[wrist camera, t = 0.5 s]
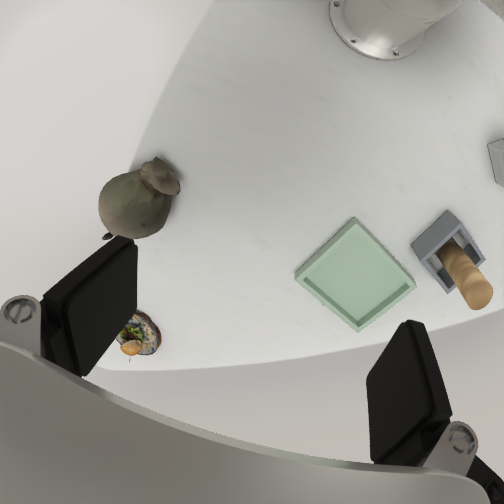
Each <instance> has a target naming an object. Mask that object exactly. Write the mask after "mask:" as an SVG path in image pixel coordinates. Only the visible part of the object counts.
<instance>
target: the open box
mask: <svg viewBox="0 0 504 504" xmlns="http://www.w3.org/2000/svg"><path fill="white" fill-rule="evenodd" d="M457 231H459V232H460V234H461V235H462V237H463V238H464V239H465V241H466V242H467V244H468V245H467V246H466V247H465V248H464V249H463V251H464V252H465V253H466V254H467V256H468V257H469V258H470V259H471V260H472V262H473V263H474V264H475V265H476V267H479V266H480V265H481V264H482V263H483V262H484V261H485V260H486V259H485V257H484V256H483V254H482V253H481V251H480V249H479V248H478V246H477V245H476V243H475V242H474V240H473V239H472V237H471V236H470V234H469V233H468V231H467V230H466V228H465V227H464V226H463V224H462V223H461V222H460V221H459V220H458V219H457V218H456V217H455V216H454V215H453V214H452V213H451V212H450V211H449V210H447V211H446V212H445V213H444V214H443V215H442V216H441V217H440V218H438V219H437V220H436V221H435V222H434V223H433V224H432V225H431V226H430V227H429V228H428V229H427V230H426V231H425V232H424V233H423V234H422V235H421V236H420V237H419V238H417V239H416V240H415V241H414V242H413V243H412V244H411V246H412V248H413V250H414V251H415V253H416V255H417V257H418V258H419V260H420V261H421V263H422V264H423V265H424V266H425V267H426V268H427V270H428V271H429V272H430V273H431V274H432V276H433V277H434V278H435V279H436V281H437V282H438V283H439V284H440V285H441V287H442V288H443V289H444V290H445V292H446V293H447V294H448V293H450V292H451V291H452V290H453V289H454V288H455V287H457V286H456V284H455V283H454V281H453V280H452V278H451V276H450V275H449V273H448V272H447V270H446V269H445V267H443V268H442V269H441V270H440V271H439V272H438V271H437V269H436V268H435V267H434V266H433V265H432V263H431V262H430V261H429V260H428V258H429V257H430V256H431V255H432V254H434V253H435V252H436V251H437V250H438V249H439V248H440V247H441V246H442V245H443V244H444V243H445V242H446V241H447V240H449V239H450V238H451V237H452V236H453V235H454V234H455V233H456V232H457Z"/></svg>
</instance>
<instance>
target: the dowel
mask: <svg viewBox="0 0 504 504" xmlns="http://www.w3.org/2000/svg"><path fill="white" fill-rule="evenodd" d="M435 254H436V255H437V257H438V258H439V260H440V261H441V263H442V264H443V266H444V267H445V269H446V270H447V272H448V273H449V275H450V276H451V278H452V280H453V281H454V283H455V284H456V286H457V288H458V289H459V291H460V292H461V294H462V296H463V297H464V299H465V301H466V302H467V304H468V306H469V307H470V308H471V309H473V310H479V309H482V308H484V307H485V306H486V305H487V304H488V303H489V302H490V300H491V298H492V296H493V288H492V286H491V285H490V284H489V282H488V281H487V280H486V278H485V277H484V276H483V274H482V273H481V272H480V271H479V269H478V268H477V267H476V265H475V264H474V263H473V262H472V260H471V259H470V258H469V257H468V256H467V254H466V253H465V252H464V251H463V250H462V248H461V247H460V246H459V245H458V244H457V243H456V241H455V240H454V239H453V238H452V237H451V238H450V239H449V240H447V241H446V242H445V243H444V244H443V245H442V246H441V247H440V248H439V249H438V250H437V251H436V252H435Z"/></svg>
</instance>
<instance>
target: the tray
mask: <svg viewBox="0 0 504 504" xmlns="http://www.w3.org/2000/svg"><path fill="white" fill-rule="evenodd" d="M295 281H296V282H298V283H299V284H300V285H301V286H302V287H304V288H305V289H306V290H307V291H308V292H310V293H311V294H312V295H313V296H314V297H315V298H317V299H318V300H319V301H320V302H321V303H323V304H324V305H325V306H326V307H327V308H329V309H330V310H331V311H332V312H333V313H335V314H336V315H337V316H338V317H339V318H341V319H342V320H343V321H344V322H345V323H346V324H348V325H349V326H350V327H351V328H352V329H354V330H355V331H356V332H357V333H359V332H360V331H361V330H363V329H364V328H365V327H367V326H368V325H369V324H371V323H372V322H373V321H375V320H376V319H377V318H379V317H380V316H381V315H383V314H384V313H385V312H387V311H388V310H389V309H390V308H392V307H393V306H394V305H395V304H397V303H398V302H399V301H400V300H402V299H403V298H404V297H405V296H407V295H408V294H409V293H410V292H411V291H413V290H414V289H415V288H416V287H417V286H416V283H415V281H414V279H413V278H412V277H411V275H410V274H409V273H408V272H407V271H406V270H405V269H404V268H403V267H402V266H401V265H400V263H399V262H398V261H397V260H396V259H395V258H394V257H393V256H392V255H391V254H390V253H389V252H388V251H387V250H386V249H385V248H384V247H383V246H382V244H381V243H380V242H379V241H378V240H377V239H376V238H375V237H374V236H373V235H372V234H371V233H370V232H369V231H368V230H367V229H366V228H365V227H364V226H363V225H362V224H361V223H360V222H359V221H358V220H357V219H356V218H355V217H354V218H352V219H351V220H350V221H349V222H348V223H347V224H346V225H345V226H344V227H343V228H342V229H341V230H340V231H339V232H338V233H337V234H336V235H335V236H334V237H333V238H331V239H330V240H329V241H328V242H327V243H326V244H325V245H324V246H323V247H322V248H321V249H320V250H319V251H318V252H317V253H315V254H314V255H313V256H312V257H311V258H310V259H309V260H308V261H307V262H306V263H305V264H304V265H303V266H301V267H300V268H299V269H298V270H297V271H296V273H295Z"/></svg>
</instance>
